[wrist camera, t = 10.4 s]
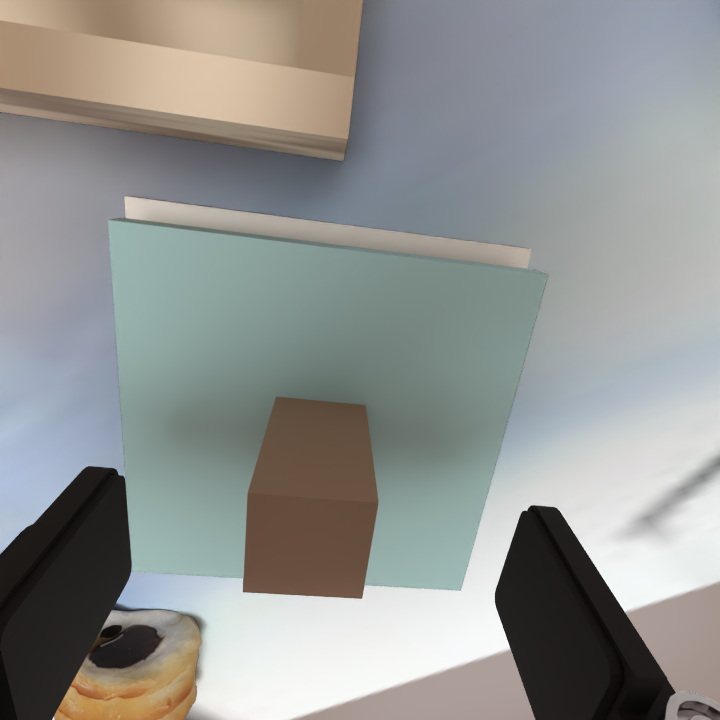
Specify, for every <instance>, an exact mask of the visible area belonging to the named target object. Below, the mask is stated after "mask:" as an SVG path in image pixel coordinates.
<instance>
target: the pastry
mask: <svg viewBox="0 0 720 720" xmlns="http://www.w3.org/2000/svg"><path fill="white" fill-rule="evenodd" d="M201 642H202V641H201V634H200V630H199V628H198V626H197V624H196V622H195V621H194V619H193V618H192V617H190V616H188V615H181V614H179V613H178V612H176V611H168V610H141V611H119V610H112V611H111V613H110V615H109V616H108V618H107V620H106V622H105V624H104V625H103V627H102V629H101V631H100V633H99V635H98V636H97V638H96V640H95V642H94V644H93V646H92V647H91V649H90V651H89V653H88V655H87V657H86V658H85V660H84V662H83V664H82V666H81V668H80V669H79V671H78V673H77V675H76V677H75V679H74V680H73V682H72V684H71V686H70V688H69V690H68V691H67V693H66V695H65V697H64V699H63V700H62V702H61V704H60V706H59V708H58V710H57V711H56V713H55V715H54V718H55V720H184V719H185V718H186V716H187V714H188V712H189V710H190V709H191V707H192V705H193V704H194V702H195V701H196V696H197V686H196V683H195V670H196V664H197V660H198V656H199V646H200V644H201Z"/></svg>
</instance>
